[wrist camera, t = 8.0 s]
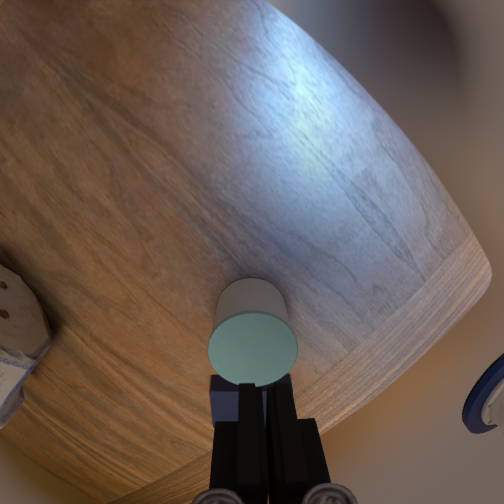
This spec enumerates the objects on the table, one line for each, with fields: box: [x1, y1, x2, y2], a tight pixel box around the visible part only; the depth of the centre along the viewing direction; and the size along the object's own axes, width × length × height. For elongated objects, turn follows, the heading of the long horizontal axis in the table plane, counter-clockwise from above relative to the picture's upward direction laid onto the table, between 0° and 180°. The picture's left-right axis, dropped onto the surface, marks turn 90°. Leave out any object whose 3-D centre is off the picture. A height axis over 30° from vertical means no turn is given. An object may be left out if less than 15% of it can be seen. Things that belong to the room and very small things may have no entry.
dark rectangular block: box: [209, 375, 293, 428], centre depth 35 cm, size 9×6×3 cm, turn 90°
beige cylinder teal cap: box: [208, 278, 298, 386], centre depth 29 cm, size 10×7×10 cm
